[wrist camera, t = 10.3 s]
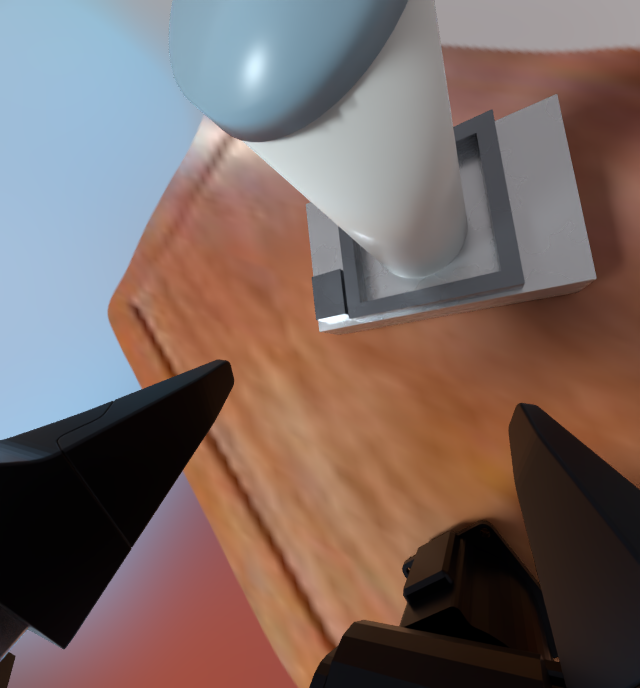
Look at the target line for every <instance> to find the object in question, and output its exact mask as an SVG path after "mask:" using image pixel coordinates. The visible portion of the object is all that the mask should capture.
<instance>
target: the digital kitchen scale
mask: <svg viewBox="0 0 640 688" xmlns="http://www.w3.org/2000/svg"><path fill="white" fill-rule="evenodd" d="M453 129H454V136H455V143H456V149H457V156H458V163H459V169H460V176H461V183H462V189H463V196H464V203H465V210H466V216H467V234H466V238H465V241H464V244H463V246H462V248H461V250H460V252H459V253H458V255H457V256H456V257H455V258H454V259H453V261H452V262H450V263H449V264H448V265H447V266H446V267H445V268H443V269H442V270H440V271H438V272H437V273H434V274H432V275H429V276H426V277H422V278H404V277H400V276H398V275H395V274H393V273H392V272H390V271H389V270H388V269H386V268H385V267H384V266H383V265H382V264H381V263H380V262H378V261H377V260H376V259H375V258H374V257H373V256H372V255H371V254H369V253H368V252H367V251H366V250H365V249H364V248H363V247H362V246H360V245H359V244H358V243H357V242H356V241H355V240H354V239H352V238H351V237H350V236H349V235H348V234H347V233H346V232H345V231H343V230H342V229H341V228H340V227H339V226H338V225H337V224H336V223H334V222H333V221H332V220H331V219H330V218H329V217H328V216H326V215H325V214H324V213H323V212H322V211H321V210H320V209H319V208H317V207H316V206H315V205H314V204H313V203H312V202H310V203H308V204H306V210H307V220H308V229H309V238H310V247H311V257H312V266H313V275H314V277H312V285H313V294H314V303H315V312H316V320H318V321H319V330H320V332H324V333H330V334H337V335H342V334H347V333H353V332H358V331H364V330H370V329H375V328H381V327H386V326H392V325H397V324H403V323H409V322H414V321H420V320H425V319H431V318H436V317H442V316H448V315H453V314H459V313H464V312H470V311H476V310H481V309H487V308H492V307H498V306H503V305H509V304H515V303H520V302H526V301H531V300H537V299H543V298H548V297H554V296H559V295H565V294H570V293H576V292H579V291H581V290H582V289H583V288H585V287H586V286H587V285H589V284H590V283H592V282H593V281H594V280H596V279H597V277H596V273H595V268H594V264H593V259H592V254H591V250H590V245H589V240H588V236H587V231H586V226H585V222H584V217H583V212H582V208H581V203H580V198H579V194H578V189H577V184H576V180H575V175H574V170H573V166H572V161H571V157H570V152H569V147H568V143H567V138H566V133H565V129H564V124H563V119H562V115H561V110H560V105H559V101H558V96H557V94H555V95H553V96H551V97H549V98H546V99H544V100H542V101H540V102H537V103H535V104H533V105H530V106H528V107H526V108H524V109H521V110H519V111H517V112H515V113H512V114H510V115H508V116H505V117H503V118H501V119H499V120H496V121H495V120H494V115H493V110H489V111H487V112H485V113H483V114H481V115H479V116H476V117H474V118H472V119H470V120H468V121H465V122H463V123H461V124H459V125H457V126H455V127H453Z"/></svg>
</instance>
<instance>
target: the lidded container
mask: <svg viewBox="0 0 640 688" xmlns="http://www.w3.org/2000/svg"><path fill="white" fill-rule="evenodd" d="M169 53H170V62H171V67H172V70H173V75H174V77H175V80H176V83H177V85H178V87H179V88H180V90H181V92H182V93H183V95H184V96H185V97H186V98H187V99H188V100H189V101H190V102H191V103H192V104H193V105H194V106H195V107H197V108H198V109H199V110H200V111H202V113H204V114H205V115H206V116H207V117H208V118H209V119H211V120H212V121H213V122H214V123H215V124H216V125H218V126H219V127H220V128H221V129H222V130H223V131H225V132H226V133H227V134H229V135H230V136H232V137H234V138H237V139H239V140H242V141H243V142H244V143H245V144H246V145H247V146H248V147H250V148H251V149H252V150H253V151H254V152H255V153H256V154H258V155H259V156H260V157H261V158H262V159H263V160H264V161H265V162H267V163H268V164H269V165H270V166H271V167H272V168H273V169H274V170H276V171H277V172H278V173H279V174H280V175H281V176H282V177H284V178H285V179H286V180H287V181H288V182H289V183H290V184H291V185H293V186H294V187H295V188H296V189H297V190H298V191H299V192H300V193H302V194H303V195H304V196H305V197H306V198H307V199H308V200H310V201H311V202H312V203H313V204H314V205H315V206H316V207H317V208H319V209H320V210H321V211H322V212H323V213H324V214H325V215H326V216H328V217H329V218H330V219H331V220H332V221H333V222H334V223H336V224H337V225H338V226H339V227H340V228H341V229H342V230H343V231H345V232H346V233H347V234H348V235H349V236H350V237H351V238H352V239H354V240H355V241H356V242H357V243H358V244H359V245H360V246H362V247H363V248H364V249H365V250H366V251H367V252H368V253H369V254H371V255H372V256H373V257H374V258H375V259H376V260H377V261H378V262H380V263H381V264H382V265H383V266H384V267H385V268H386V269H388V270H389V271H390V272H392V273H393V274H395V275H398V276H400V277H404V278H422V277H426V276H429V275H432V274H434V273H437V272H438V271H440V270H442V269H443V268H445V267H446V266H447V265H448V264H449V263H450V262H452V261H453V259H454V258H455V257H456V256H457V255H458V253H459V252H460V250H461V248H462V246H463V244H464V241H465V238H466V234H467V216H466V210H465V203H464V196H463V189H462V183H461V176H460V169H459V163H458V156H457V149H456V143H455V136H454V129H453V123H452V116H451V109H450V102H449V96H448V89H447V82H446V76H445V69H444V62H443V56H442V49H441V42H440V36H439V29H438V22H437V16H436V9H435V3H434V0H173V2H172V8H171V15H170V24H169Z"/></svg>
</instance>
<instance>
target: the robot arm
mask: <svg viewBox="0 0 640 688" xmlns="http://www.w3.org/2000/svg"><path fill="white" fill-rule="evenodd" d="M233 385H234V377H233V373H232V368H231V365H230V363H229V362H228V361H226V360H215V361H212V362H210V363H207V364H205V365H202V366H200V367H197V368H195V369H192V370H190V371H187V372H185V373H182V374H180V375H177V376H174V377H172V378H169V379H167V380H164V381H162V382H159V383H157V384H154V385H152V386H149V387H147V388H144V389H142V390H139V391H137V392H134V393H131V394H129V395H126V396H124V397H121V398H119V399H116V400H115V401H111V402H108V403H106V404H103V405H101V406H98V407H96V408H93V409H91V410H88V411H85V412H83V413H80V414H77V415H74V416H71V417H69V418H66V419H63V420H60V421H57V422H55V423H51V424H49V425H46V426H43V427H40V428H37V429H34V430H31V431H29V432H26V433H22V434H19V435H16V436H14V437H10V438H7V439H4V440H0V688H7V686H8V682H9V679H10V675H11V671H12V667H13V664H14V660H15V655H13V654H11V653H10V652H9V651H10V650H11V649H12V647H13V646H14V645H15V644H16V643H17V642H18V640H19V639H20V638H21V637H22V636H23V634H24V633H25V632H26V631H27V630H30V631H32V632H34V633H35V634H37V635H39V636H41V637H43V638H44V639H46V640H48V641H50V642H51V643H53V644H55V645H57V646H58V647H60V648H62V649H65V648H66V647H67V646H68V644H69V643H70V642H71V640H72V639H73V637H74V636H75V634H76V633H77V631H78V630H79V628H80V627H81V625H82V624H83V622H84V621H85V619H86V618H87V616H88V615H89V613H90V611H91V610H92V608H93V607H94V605H95V604H96V602H97V601H98V599H99V598H100V596H101V595H102V593H103V592H104V590H105V589H106V587H107V585H108V584H109V582H110V581H111V579H112V578H113V576H114V575H115V573H116V572H117V570H118V569H119V567H120V565H121V564H122V563H123V561H124V559H125V558H126V556H127V555H128V553H129V552H130V550H131V547H133V545H134V544H135V542H136V541H137V539H138V538H139V536H140V535H141V533H142V532H143V530H144V529H145V527H146V526H147V524H148V523H149V521H150V520H151V518H152V517H153V515H154V513H155V512H156V510H157V509H158V507H159V506H160V504H161V503H162V501H163V500H164V498H165V497H166V495H167V494H168V492H169V490H170V489H171V487H172V486H173V484H174V483H175V481H176V480H177V478H178V477H179V475H180V474H181V472H182V471H183V469H184V468H185V466H186V465H187V463H188V462H189V460H190V459H191V457H192V456H193V454H194V452H195V451H196V449H197V448H198V446H199V445H200V443H201V442H202V440H203V439H204V437H205V436H206V434H207V433H208V431H209V430H210V428H211V426H212V425H213V423H214V422H215V420H216V418H217V416H218V414H219V413H220V411H221V409H222V407H223V405H224V403H225V401H226V399H227V397H228V395H229V393H230V391H231V389H232V387H233ZM509 440H510V448H511V456H512V465H513V473H514V480H515V486H516V491H517V495H518V499H519V503H520V507H521V511H522V515H523V519H524V523H525V527H526V531H527V534H528V538H529V542H530V546H531V550H532V554H533V558H534V562H535V566H536V570H537V574H538V578H539V582H540V585H539V583H538V582H537V581H536V580H535V578H534V577H533V576H532V575H531V573H530V572H529V571H528V569H527V568H526V567H525V566H524V564H523V563H522V562H521V561H520V559H519V558H518V557H517V556H516V554H515V553H514V552H513V551H512V549H511V548H510V547H509V546H508V544H507V543H506V542H505V540H504V539H503V538H502V537H501V535H500V534H499V533H498V532H497V530H496V529H495V528H494V527H493V525H491V524H490V523H489V522H487V521H483V520H482V521H478V522H477V523H475V524H473V525H471V526H469V527H467V528H465V529H464V530H462V531H460V532H458V533H455V532H452V531H448V532H446V533H445V534H443V535H441V536H439V537H437V538H435V539H434V540H432V541H430V542H428V543H426V544H424V545H423V546H421V547H419V548H418V550H417V553H416V555H415V556H413V557H411V558H409V559H408V560H406V561H405V562H404V565H403V568H402V570H403V573H404V575H405V577H406V578H407V580H406V583H405V586H404V590H403V596H404V598H405V599H406V601H407V605H406V608H405V611H404V614H403V617H402V620H401V623H400V626H399V627H398V626H393V625H388V624H383V623H378V622H373V621H367V620H361V621H357V622H354V623H353V624H352V625H351V626H350V627H349V629H348V630H347V631H346V632H345V633H344V635H343V636H342V639H341V641H340V643H339V645H338V646H337V647H336V648H335V649H334V650H332V651H331V652H330V653H329V654H327V655H326V656H325V658H324V659H323V660H322V661H321V662H320V664H319V666H318V668H317V670H316V672H315V673H314V676H313V679H312V682H311V684H310V687H309V688H640V490H639V489H638V488H637V487H636V486H634V485H633V484H632V483H631V482H630V481H628V480H627V479H626V478H625V477H623V476H622V475H621V474H620V473H619V472H617V471H616V470H615V469H614V468H612V467H611V466H610V465H609V464H608V463H606V462H605V461H604V460H603V459H602V458H600V457H599V456H598V455H597V454H595V453H594V452H593V451H592V450H591V449H589V448H588V447H587V446H586V445H584V444H583V443H582V442H581V441H580V440H578V439H577V438H576V437H575V436H574V435H572V434H571V433H570V432H569V431H567V430H566V429H565V428H564V427H563V426H561V425H560V424H559V423H558V422H556V421H555V420H554V419H553V418H552V417H550V416H549V415H548V414H547V413H546V412H544V411H543V410H542V409H541V408H539V407H538V406H536V405H533V404H526V403H519V404H518V405H517V406H516V408H515V411H514V413H513V416H512V419H511V422H510V424H509ZM483 528H485V529H487V530H489V532H490V533H489V534H484V533H482V532H481V529H483ZM408 567H410V568H411V569H410V571H409V569H408ZM556 657H559V661H560V662H556V661H554V660H553V658H556Z"/></svg>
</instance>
